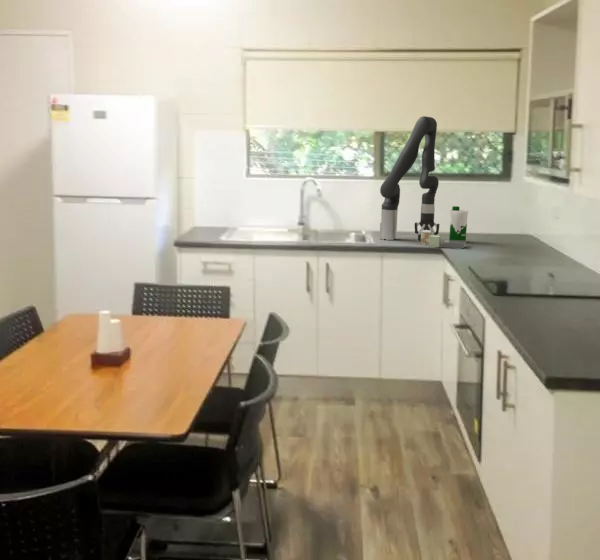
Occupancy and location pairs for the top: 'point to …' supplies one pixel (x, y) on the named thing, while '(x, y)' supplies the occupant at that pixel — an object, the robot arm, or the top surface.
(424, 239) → the maple block
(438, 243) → the sage block
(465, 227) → the soya milk
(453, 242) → the slate base
